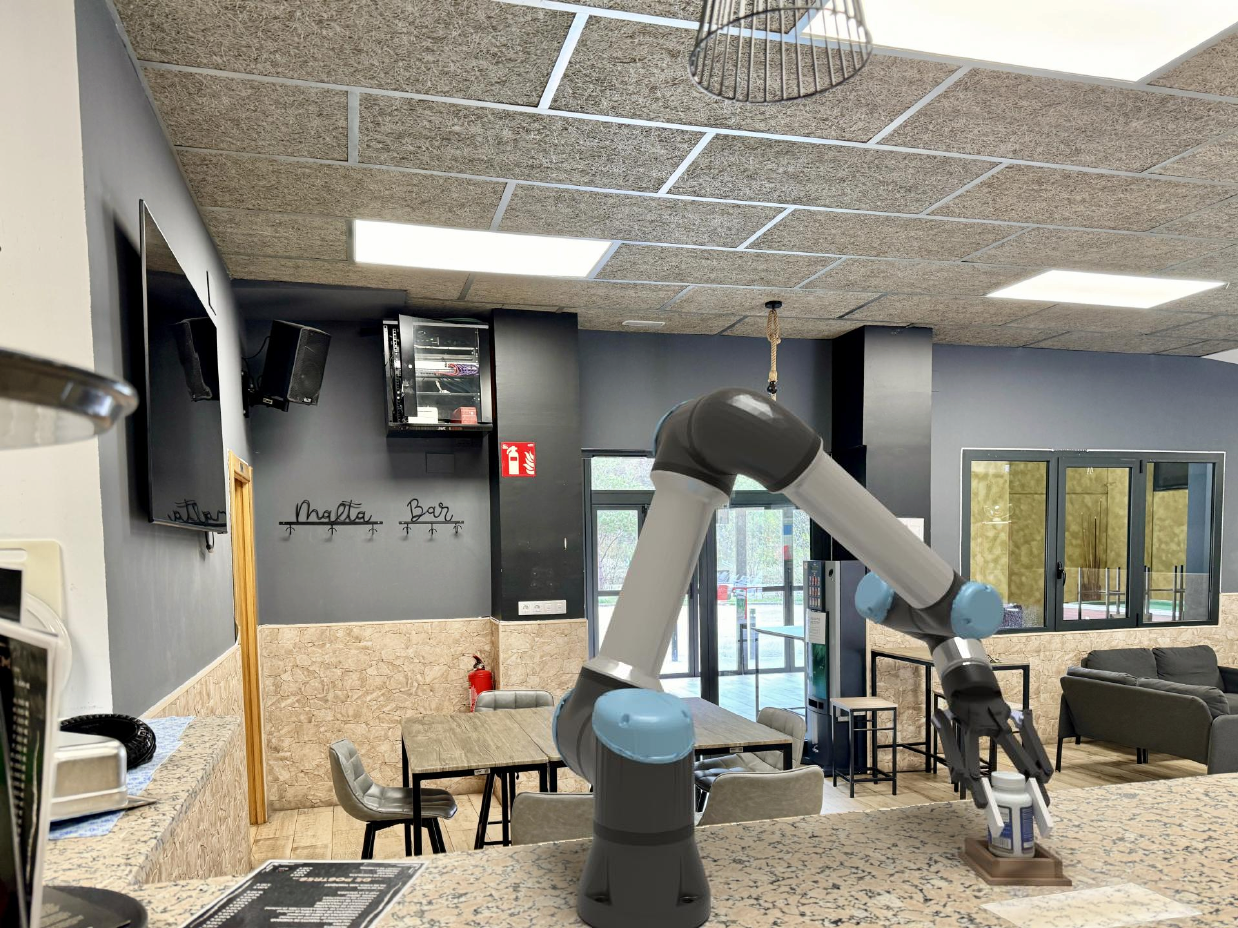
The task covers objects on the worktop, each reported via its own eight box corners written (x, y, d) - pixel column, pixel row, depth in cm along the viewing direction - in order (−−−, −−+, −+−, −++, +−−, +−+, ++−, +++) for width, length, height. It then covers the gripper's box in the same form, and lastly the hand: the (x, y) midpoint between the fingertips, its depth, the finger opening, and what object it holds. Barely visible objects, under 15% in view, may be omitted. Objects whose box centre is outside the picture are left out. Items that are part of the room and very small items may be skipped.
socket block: (988, 884, 103) (987, 862, 104) (958, 855, 113) (957, 835, 114) (1072, 885, 103) (1070, 863, 103) (1033, 856, 113) (1032, 836, 113)
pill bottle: (1025, 846, 111) (1022, 769, 112) (1041, 861, 106) (1037, 780, 107) (982, 845, 111) (979, 768, 112) (996, 859, 106) (993, 779, 107)
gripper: (1023, 693, 125) (1088, 847, 107) (897, 692, 126) (941, 846, 108) (1038, 660, 121) (1108, 816, 103) (907, 660, 121) (955, 815, 103)
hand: (1023, 831), depth 105 cm, fingers closed on pill bottle, 5 cm apart
